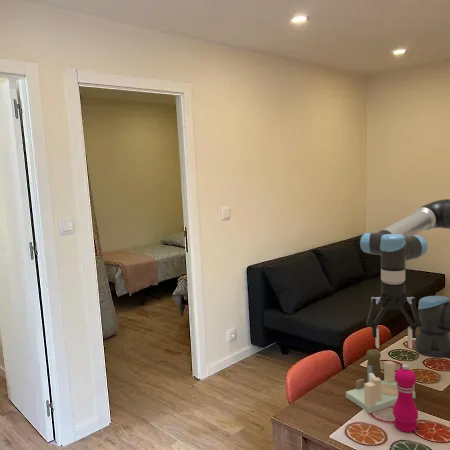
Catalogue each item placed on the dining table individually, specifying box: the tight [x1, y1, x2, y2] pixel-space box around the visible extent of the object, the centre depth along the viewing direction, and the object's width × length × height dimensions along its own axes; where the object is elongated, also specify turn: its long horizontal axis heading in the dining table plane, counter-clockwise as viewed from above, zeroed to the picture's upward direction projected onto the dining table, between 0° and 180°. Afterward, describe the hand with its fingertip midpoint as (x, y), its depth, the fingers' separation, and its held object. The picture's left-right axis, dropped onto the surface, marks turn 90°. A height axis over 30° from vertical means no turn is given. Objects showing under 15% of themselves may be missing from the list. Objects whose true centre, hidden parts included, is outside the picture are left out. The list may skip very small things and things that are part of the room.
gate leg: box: [369, 373, 381, 400], centre depth 153 cm, size 8×2×7 cm, turn 179°
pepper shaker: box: [365, 348, 383, 381], centre depth 169 cm, size 6×6×11 cm
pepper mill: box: [392, 364, 419, 433], centre depth 137 cm, size 7×7×20 cm
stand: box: [345, 360, 416, 414], centre depth 155 cm, size 20×12×10 cm, turn 114°
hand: (393, 346), depth 150 cm, fingers open, 10 cm apart
